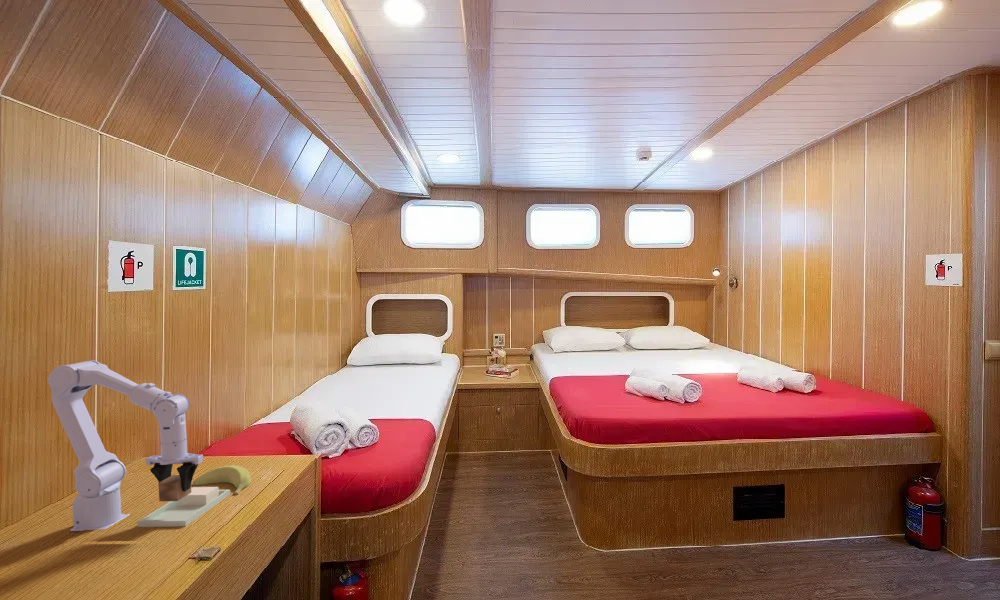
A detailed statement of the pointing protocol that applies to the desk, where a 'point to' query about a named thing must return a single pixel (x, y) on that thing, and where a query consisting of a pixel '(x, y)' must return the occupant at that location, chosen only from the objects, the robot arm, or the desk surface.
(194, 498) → the pale pink block
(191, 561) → the desk surface
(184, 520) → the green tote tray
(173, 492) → the walnut block
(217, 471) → the banana
